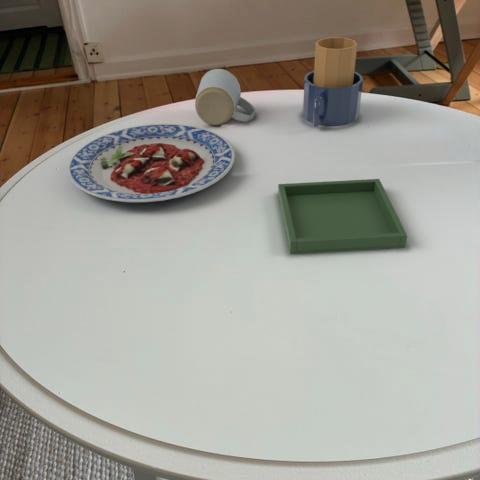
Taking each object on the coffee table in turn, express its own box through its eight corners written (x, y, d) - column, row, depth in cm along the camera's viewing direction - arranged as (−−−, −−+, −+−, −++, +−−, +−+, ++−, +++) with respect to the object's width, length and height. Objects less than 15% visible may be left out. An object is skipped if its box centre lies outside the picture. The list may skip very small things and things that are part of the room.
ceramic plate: (266, 157, 88) (266, 140, 85) (163, 233, 72) (161, 214, 70) (147, 124, 99) (144, 108, 97) (36, 184, 83) (30, 166, 81)
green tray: (377, 190, 79) (379, 178, 78) (404, 248, 68) (407, 235, 67) (278, 195, 79) (278, 183, 77) (289, 254, 68) (290, 242, 67)
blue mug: (314, 103, 103) (316, 65, 99) (365, 111, 100) (370, 72, 95) (287, 130, 95) (288, 89, 90) (341, 139, 91) (345, 98, 87)
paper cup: (344, 106, 101) (351, 36, 92) (352, 121, 96) (360, 48, 87) (309, 107, 100) (313, 38, 92) (315, 123, 95) (320, 50, 87)
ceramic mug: (194, 127, 97) (191, 83, 91) (201, 109, 103) (198, 67, 97) (253, 129, 96) (253, 85, 91) (256, 111, 102) (257, 68, 97)
